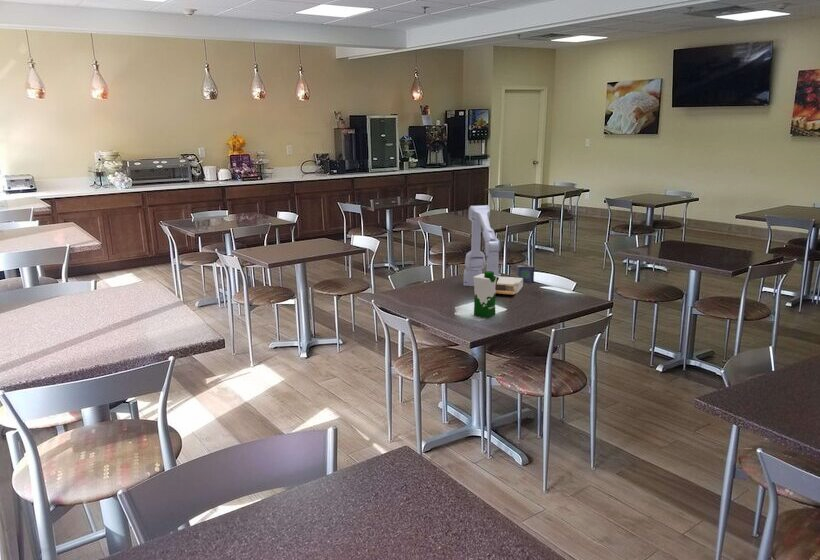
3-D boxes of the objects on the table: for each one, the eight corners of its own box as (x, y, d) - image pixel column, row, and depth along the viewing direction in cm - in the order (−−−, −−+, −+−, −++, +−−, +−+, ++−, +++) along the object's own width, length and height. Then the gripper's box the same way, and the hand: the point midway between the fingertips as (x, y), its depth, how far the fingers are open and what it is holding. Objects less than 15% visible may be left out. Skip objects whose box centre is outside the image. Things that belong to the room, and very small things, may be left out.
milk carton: (487, 319, 263) (488, 275, 258) (470, 315, 269) (470, 272, 264) (498, 314, 270) (499, 271, 265) (481, 310, 275) (481, 268, 270)
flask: (516, 282, 323) (516, 263, 321) (516, 281, 326) (517, 261, 324) (533, 283, 321) (534, 263, 319) (533, 281, 324) (534, 262, 321)
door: (478, 290, 307) (474, 291, 299) (479, 288, 306) (475, 289, 299) (515, 293, 300) (512, 294, 292) (516, 291, 300) (512, 292, 292)
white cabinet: (478, 291, 308) (478, 281, 307) (485, 284, 321) (485, 275, 319) (517, 294, 301) (517, 284, 300) (522, 287, 313) (523, 278, 312)
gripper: (497, 269, 281) (496, 296, 285) (504, 262, 295) (503, 289, 298) (482, 268, 284) (482, 295, 287) (490, 261, 297) (489, 288, 300)
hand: (492, 292), depth 293 cm, fingers closed
